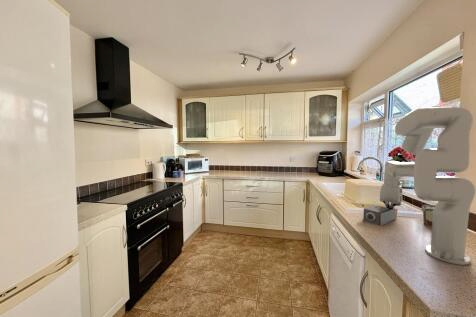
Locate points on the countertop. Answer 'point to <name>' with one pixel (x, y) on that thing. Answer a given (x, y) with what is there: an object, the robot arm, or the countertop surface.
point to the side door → (388, 216)
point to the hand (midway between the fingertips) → (389, 213)
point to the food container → (428, 214)
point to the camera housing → (374, 214)
